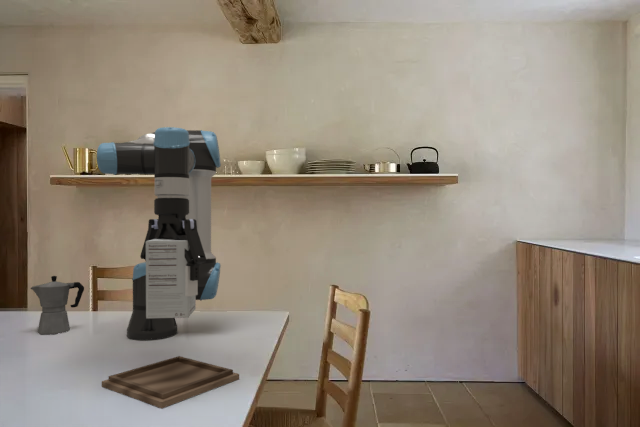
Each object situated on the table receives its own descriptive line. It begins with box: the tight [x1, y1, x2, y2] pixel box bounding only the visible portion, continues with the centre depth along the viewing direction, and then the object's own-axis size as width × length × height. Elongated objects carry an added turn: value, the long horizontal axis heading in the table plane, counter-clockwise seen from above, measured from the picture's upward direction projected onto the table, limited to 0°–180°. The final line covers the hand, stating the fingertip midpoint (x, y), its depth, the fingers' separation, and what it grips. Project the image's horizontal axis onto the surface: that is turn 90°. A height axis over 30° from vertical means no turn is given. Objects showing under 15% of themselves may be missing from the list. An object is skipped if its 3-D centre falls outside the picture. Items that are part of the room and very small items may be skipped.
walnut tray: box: [101, 355, 240, 409], centre depth 110 cm, size 21×21×2 cm
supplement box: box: [145, 239, 197, 319], centre depth 110 cm, size 10×9×17 cm
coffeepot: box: [30, 275, 85, 336], centre depth 159 cm, size 15×9×18 cm, turn 113°
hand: (171, 293), depth 110 cm, fingers closed on supplement box, 13 cm apart
